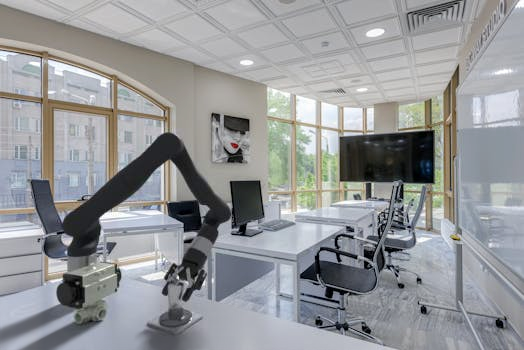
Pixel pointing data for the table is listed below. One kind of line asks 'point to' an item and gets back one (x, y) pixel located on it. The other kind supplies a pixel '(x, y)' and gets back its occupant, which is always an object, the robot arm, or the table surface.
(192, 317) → the flange
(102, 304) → the ball valve
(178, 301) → the grey cylinder
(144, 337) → the table surface
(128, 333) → the table surface
